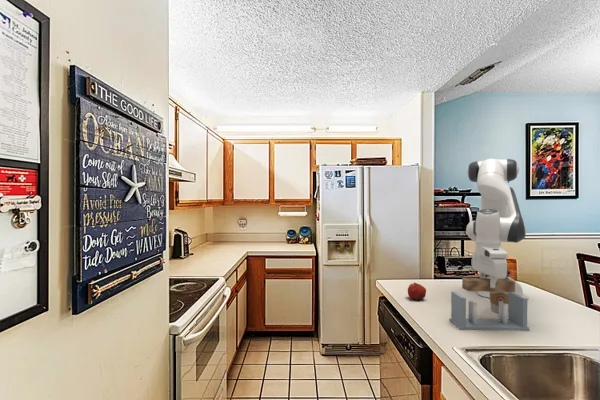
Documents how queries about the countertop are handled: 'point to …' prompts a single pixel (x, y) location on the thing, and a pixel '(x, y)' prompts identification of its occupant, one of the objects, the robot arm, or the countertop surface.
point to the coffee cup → (498, 299)
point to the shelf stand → (509, 319)
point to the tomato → (416, 291)
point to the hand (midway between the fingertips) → (487, 285)
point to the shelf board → (483, 285)
